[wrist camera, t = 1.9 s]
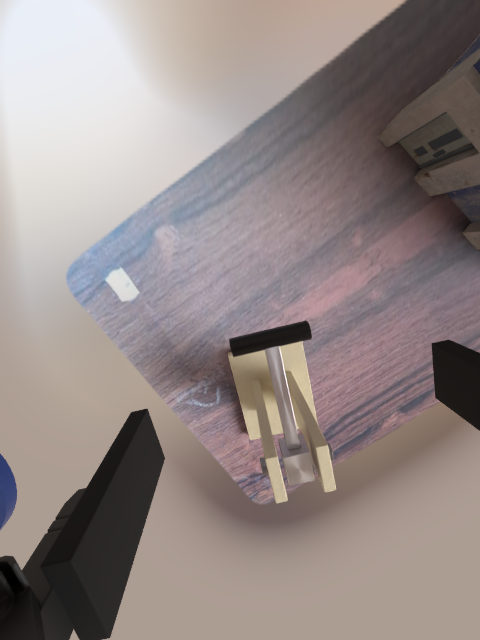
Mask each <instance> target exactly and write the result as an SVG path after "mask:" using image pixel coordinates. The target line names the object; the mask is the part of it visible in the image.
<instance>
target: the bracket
mask: <svg viewBox="0 0 480 640" xmlns="http://www.w3.org/2000/svg"><path fill="white" fill-rule="evenodd" d="M280 351H281V355H282V360H283V365H284V370H285V374H286V379H287V384H288V388H289V393H290V398H291V403H292V407H293V412H294V417H295V421H296V426H297V429H300V431H301V434H303V436H304V438H305V441H306V444H307V446H308V449H309V451H310V455H311V460H312V462H313V465H314V467H315V470H316V472H317V475H318V478H319V480H320V482H321V485H322V488H323V490H324V492H329V491H334V490H336V486H335V480H334V475H333V469H332V464H331V461H332V460H334V456H333V452H332V449H331V446H330V444H329V443H327V442H326V440H325V438H324V436H323V434H322V432H321V430H320V428H319V426H318V422H317V417H316V412H315V406H314V401H313V396H312V391H311V385H310V380H309V375H308V370H307V364H306V359H305V354H304V349H303V343H302V341H301V342H297V343H293V344H288V345H284V346H280ZM228 358H229V362H230V366H231V370H232V373H233V377H234V381H235V385H236V389H237V393H238V396H239V400H240V404H241V408H242V412H243V415H244V419H245V423H246V427H247V431H248V435H249V438H250V440H253V439H258V438H261V440H262V446H263V451H264V457H262V458H260V462H261V467H262V472H263V475H264V476H266V475H269V478H270V482H271V486H272V490H273V494H274V498H275V502H276V503H280V502H285V501H287V500H288V499H287V494H286V490H285V486H284V482H283V477H282V473H281V469H280V465H279V460H278V456H277V452H276V448H275V443H274V439H273V435H275V434H280V433H283V428H282V424H281V420H280V415H279V411H278V406H277V402H276V398H275V393H274V389H273V384H272V380H271V375H270V371H269V367H268V362H267V358H266V353H265V350H263V351H259V352H254V353H250V354H246V355H242V356H237V357H233V355H232V352H228Z"/></svg>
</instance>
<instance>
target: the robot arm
mask: <svg viewBox="0 0 480 640" xmlns="http://www.w3.org/2000/svg"><path fill="white" fill-rule="evenodd" d="M432 355H433V370H434V384H435V398H436V399H438V400H439V401H441V402H442V403H443V404H445V405H446V406H447V407H449V408H450V409H451V410H453V411H454V412H455V413H457V414H458V415H459V416H461V417H462V418H463V419H465V420H466V421H467V422H469V423H470V424H471V425H473V426H474V427H475V428H477V429H478V430H480V353H478V352H476V351H474V350H471V349H469V348H467V347H464V346H462V345H460V344H458V343H455V342H453V341H451V340H445V341H441V342H436V343H432ZM164 460H165V457H164V454H163V452H162V448H161V446H160V443H159V440H158V437H157V435H156V432H155V429H154V426H153V423H152V420H151V418H150V415H149V412H148V409H144V410H139V411H135V412H132V413H131V414H130V415H129V417H128V419H127V420H126V422H125V424H124V426H123V427H122V429H121V431H120V432H119V434H118V436H117V438H116V439H115V441H114V442H113V444H112V446H111V447H110V449H109V451H108V453H107V454H106V456H105V458H104V460H103V461H102V463H101V464H100V466H99V468H98V469H97V471H96V473H95V474H94V476H93V478H92V480H91V481H90V483H89V485H88V486H87V488H84V489H79V490H78V491H77V492H76V493H75V494H74V495H73V496H72V497H71V498H70V499H69V500H68V501H67V502H66V503H65V504H64V506H63V507H62V509H61V510H60V512H59V514H58V515H57V517H56V520H55V521H53V523H52V524H51V526H50V527H49V529H48V533H47V534H45V535H44V537H43V538H42V540H41V542H40V543H39V545H38V546H37V548H36V549H35V551H34V552H33V554H32V556H31V557H30V559H29V560H28V562H27V563H26V565H25V567H24V568H23V570H21V569H20V567H19V565H18V564H17V562H16V560H15V559H14V557H13V556H3V557H0V640H69V639H70V636H71V634H72V631H73V629H74V630H75V632H76V634H77V636H78V637H79V639H80V640H102V639H107V638H110V636H111V632H112V629H113V626H114V623H115V620H116V617H117V613H118V610H119V607H120V604H121V600H122V597H123V593H124V590H125V587H126V584H127V581H128V577H129V574H130V571H131V568H132V564H133V561H134V558H135V555H136V551H137V548H138V544H139V541H140V538H141V535H142V532H143V528H144V525H145V522H146V518H147V515H148V512H149V509H150V505H151V502H152V499H153V496H154V492H155V489H156V486H157V483H158V479H159V476H160V473H161V469H162V466H163V463H164Z"/></svg>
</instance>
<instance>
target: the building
mask: <svg viewBox="0 0 480 640" xmlns="http://www.w3.org/2000/svg"><path fill="white" fill-rule="evenodd" d="M378 138H379V140H380V141H381V142H382V143H383V144H384V145H385V146H386V148H387V147H389V146H391V145H392V144H394V143H396V142H397V143H398V142H399V143H400V144H401V145H402V146H403V148H404V149H405V150H406V151H407V152H408V153H409V154H410V156H411V157H412V158H413V159H414V160H415V161H416V162H417V164H418V165H419V166H418V167H419V168H421V170H420V171H419V172H418V173H417V174H416V175H415V176H414V177H413V178H414V179H415V180H416V182H417V183H418V184H419V185H420V186H421V187H422V188H423V189H424V191H425V192H426V193H427V194H428V195H429V196H434V195H438V194H443V193H447V194H448V196H449V197H450V198H451V199H452V200H453V201H454V203H455V204H456V205H457V206H458V207H459V208H460V210H461V211H462V212H463V213H464V214H465V215H466V216H467V218H468V219H469V220H470V221H471V222H472V223H471V224H470V225H469V226H468V227H467V228H466V229H465V230H464V231H463V232H462V234H463V235H464V236H465V237H466V238H467V239H468V240H469V242H470V243H471V244H472V245H473V246H474V247H475V248H476V250H480V36H479V37H478V38H477V40H476V41H475V42H474V43H473V44H472V45H471V46H470V47H469V49H468V50H467V51H466V52H465V53H464V54H463V55H462V56H461V58H460V59H459V60H458V61H457V62H456V63H455V64H454V66H453V67H452V68H451V69H450V70H449V71H448V72H447V73H446V75H445V76H444V77H443V78H441V79H440V80H439V81H438V82H436V83H435V84H434V85H432V86H431V87H430V88H429V89H427V90H426V91H425V92H423V93H422V94H421V95H420V96H418V97H417V98H416V99H414V100H413V101H412V102H411V103H409V104H408V105H407V106H406V107H404V108H403V109H402V110H401V112H400V113H399V114H398V115H397V116H396V117H395V118H394V120H393V121H392V122H391V123H390V124H389V125H388V126H387V128H386V129H385V130H384V131H383V132H382V133H381V134H380V136H379V137H378Z"/></svg>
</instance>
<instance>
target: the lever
mask: <svg viewBox="0 0 480 640" xmlns="http://www.w3.org/2000/svg"><path fill="white" fill-rule="evenodd" d="M311 338H312V334H311V329H310V326H309V323H308V322H307V321H302V322H298V323H294V324H290V325H285V326H281V327H277V328H273V329H269V330H264V331H260V332H256V333H252V334H247V335H243V336H239V337H235V338H230V339H229V342H230V347H231V351H232V355H233V357H237V356H242V355H246V354H250V353H254V352H259V351H263V350H265V353H266V358H267V362H268V367H269V371H270V375H271V380H272V384H273V389H274V393H275V398H276V402H277V406H278V411H279V415H280V420H281V424H282V428H283V433H284V437H285V438H281V439H278V441H279V445H280V449H281V454H282V458H283V462H284V466H285V470H286V474H287V478H288V482H289V486H292V485H296V484H301V483H305V482H310V481H314V480H315V475H314V470H313V465H312V460H311V455H310V451H309V449H308V446H307V444H306V441H305V438H304V436H303V434H299V435H298V431H297V426H296V421H295V417H294V412H293V407H292V403H291V398H290V393H289V388H288V384H287V379H286V374H285V370H284V365H283V360H282V355H281V351H280V346H284V345H288V344H293V343H297V342H301V341H305V340H310V339H311Z"/></svg>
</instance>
